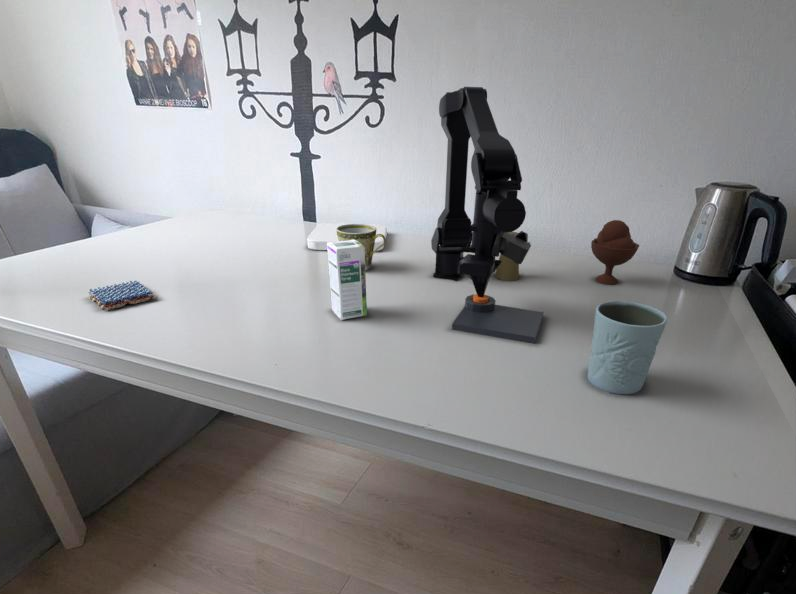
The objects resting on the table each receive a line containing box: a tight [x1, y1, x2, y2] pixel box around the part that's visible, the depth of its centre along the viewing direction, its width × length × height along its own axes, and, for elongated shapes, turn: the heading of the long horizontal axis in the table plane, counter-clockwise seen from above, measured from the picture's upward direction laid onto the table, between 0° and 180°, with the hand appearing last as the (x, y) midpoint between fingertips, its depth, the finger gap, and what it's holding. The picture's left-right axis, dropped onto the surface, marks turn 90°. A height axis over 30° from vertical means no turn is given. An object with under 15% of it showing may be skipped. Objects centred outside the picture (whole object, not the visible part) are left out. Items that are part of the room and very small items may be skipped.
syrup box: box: [326, 239, 368, 321], centre depth 97 cm, size 6×6×14 cm
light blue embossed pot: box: [587, 300, 668, 395], centre depth 76 cm, size 10×10×12 cm
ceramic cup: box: [336, 223, 387, 272], centre depth 123 cm, size 13×10×10 cm
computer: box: [306, 222, 388, 252], centre depth 147 cm, size 22×22×3 cm
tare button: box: [473, 293, 489, 303], centre depth 101 cm, size 3×3×2 cm
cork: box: [494, 231, 520, 281], centre depth 120 cm, size 6×6×11 cm
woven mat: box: [88, 280, 156, 311], centre depth 103 cm, size 10×11×2 cm
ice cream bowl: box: [590, 219, 640, 286], centre depth 118 cm, size 11×11×15 cm
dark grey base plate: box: [451, 294, 545, 345], centre depth 97 cm, size 16×14×3 cm
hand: (480, 296), depth 100 cm, fingers closed, pressing on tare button
